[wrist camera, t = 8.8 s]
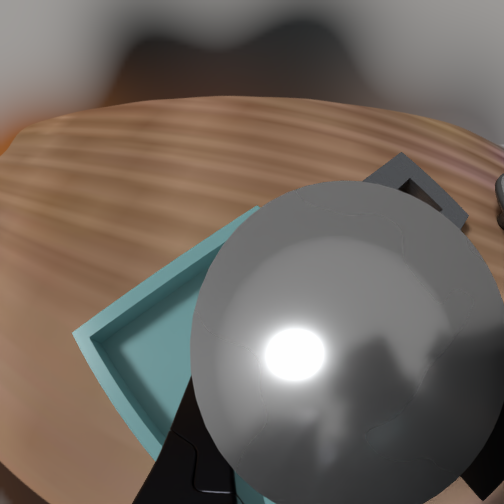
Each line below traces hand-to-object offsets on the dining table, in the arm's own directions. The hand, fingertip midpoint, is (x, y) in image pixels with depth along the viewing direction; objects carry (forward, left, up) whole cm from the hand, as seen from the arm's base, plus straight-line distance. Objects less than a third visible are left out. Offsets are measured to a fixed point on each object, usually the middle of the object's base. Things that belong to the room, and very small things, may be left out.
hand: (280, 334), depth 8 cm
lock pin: (-1, 0, -7) cm, 7 cm away
